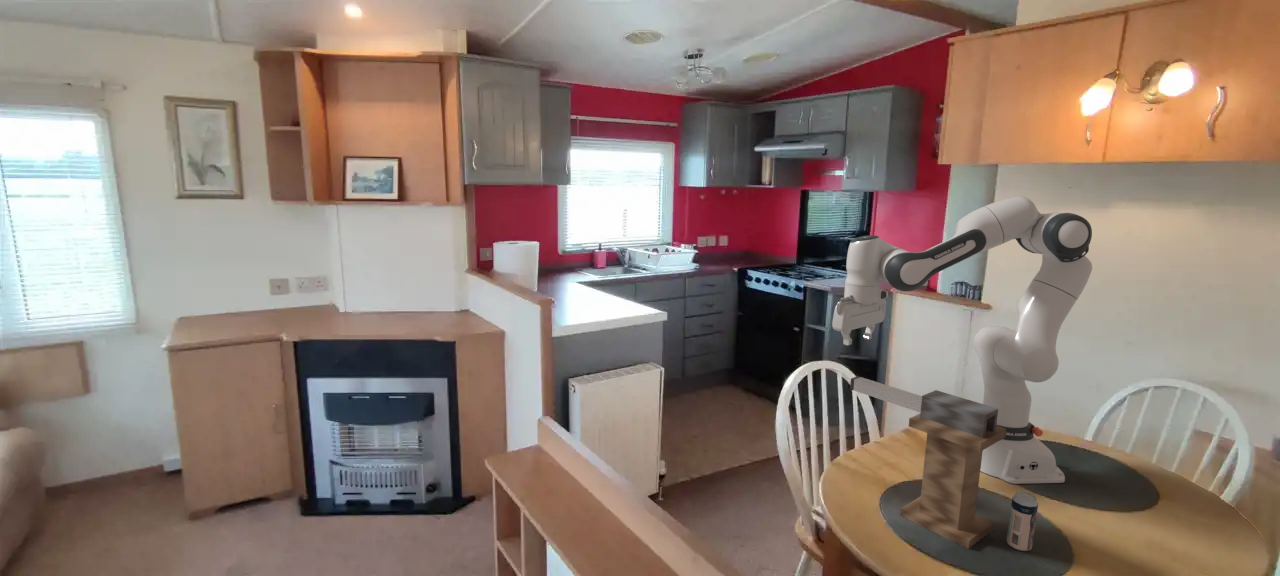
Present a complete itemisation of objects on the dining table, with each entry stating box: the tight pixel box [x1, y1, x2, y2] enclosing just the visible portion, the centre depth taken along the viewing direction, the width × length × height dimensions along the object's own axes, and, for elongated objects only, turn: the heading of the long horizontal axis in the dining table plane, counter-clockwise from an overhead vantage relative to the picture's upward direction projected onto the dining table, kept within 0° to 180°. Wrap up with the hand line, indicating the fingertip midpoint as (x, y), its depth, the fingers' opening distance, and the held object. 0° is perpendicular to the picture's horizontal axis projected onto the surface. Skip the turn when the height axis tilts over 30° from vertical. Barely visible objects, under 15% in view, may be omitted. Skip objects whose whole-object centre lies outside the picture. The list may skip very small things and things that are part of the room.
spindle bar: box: [849, 375, 923, 414], centre depth 149 cm, size 22×3×3 cm, turn 36°
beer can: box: [1006, 491, 1039, 552], centre depth 132 cm, size 5×5×12 cm
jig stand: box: [899, 389, 1006, 550], centre depth 139 cm, size 16×12×30 cm
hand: (857, 341), depth 169 cm, fingers open, 8 cm apart
